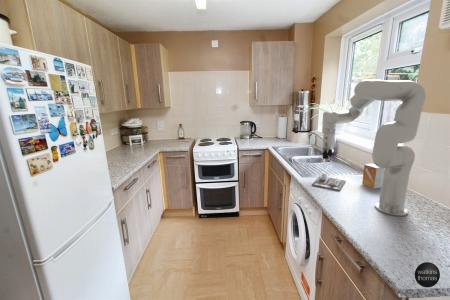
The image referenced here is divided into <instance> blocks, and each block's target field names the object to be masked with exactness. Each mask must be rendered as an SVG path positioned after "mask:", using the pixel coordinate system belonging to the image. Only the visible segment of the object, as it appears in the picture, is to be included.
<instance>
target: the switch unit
mask: <svg viewBox="0 0 450 300" xmlns="http://www.w3.org/2000/svg"><path fill="white" fill-rule="evenodd" d="M331 178H332V177H327V180H326V181H321V179H322V175H319V176H318V177H317V178H316V179H315V180H314V182H312V183H311V187H316V188H320V189H325V190H329V191H335V192H341V190H342V188H343V187H344V185H345V184H346V180H345V179H344V180H343V179H338V178H337V181H336V184H337V185H336V187H334V186H330V184H331Z"/></svg>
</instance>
